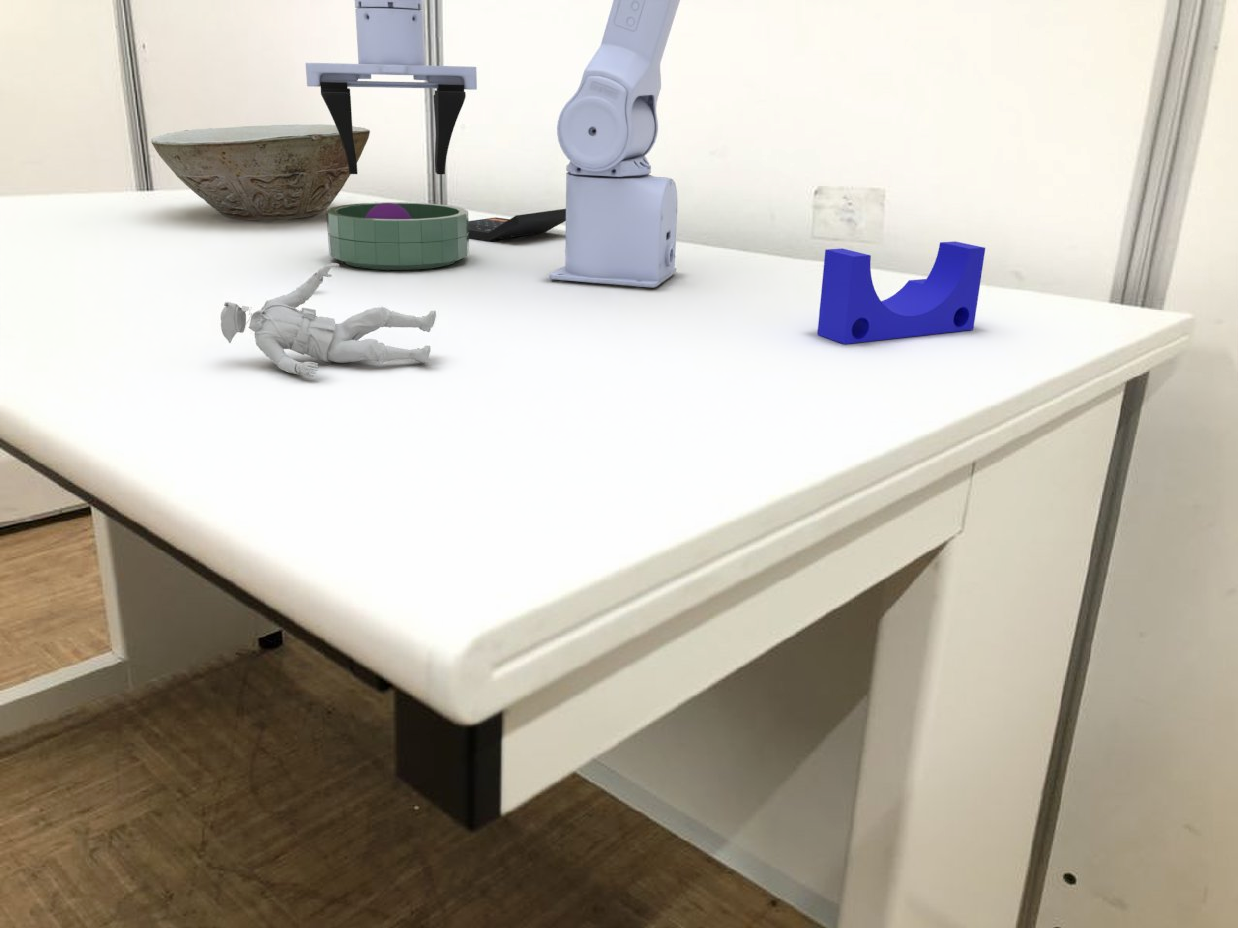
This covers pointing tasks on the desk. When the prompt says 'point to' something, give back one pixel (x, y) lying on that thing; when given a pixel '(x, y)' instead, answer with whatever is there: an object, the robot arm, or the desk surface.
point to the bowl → (262, 167)
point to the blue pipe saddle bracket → (899, 297)
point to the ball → (388, 212)
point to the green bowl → (398, 236)
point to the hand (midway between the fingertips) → (397, 173)
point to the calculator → (515, 225)
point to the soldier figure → (320, 330)
